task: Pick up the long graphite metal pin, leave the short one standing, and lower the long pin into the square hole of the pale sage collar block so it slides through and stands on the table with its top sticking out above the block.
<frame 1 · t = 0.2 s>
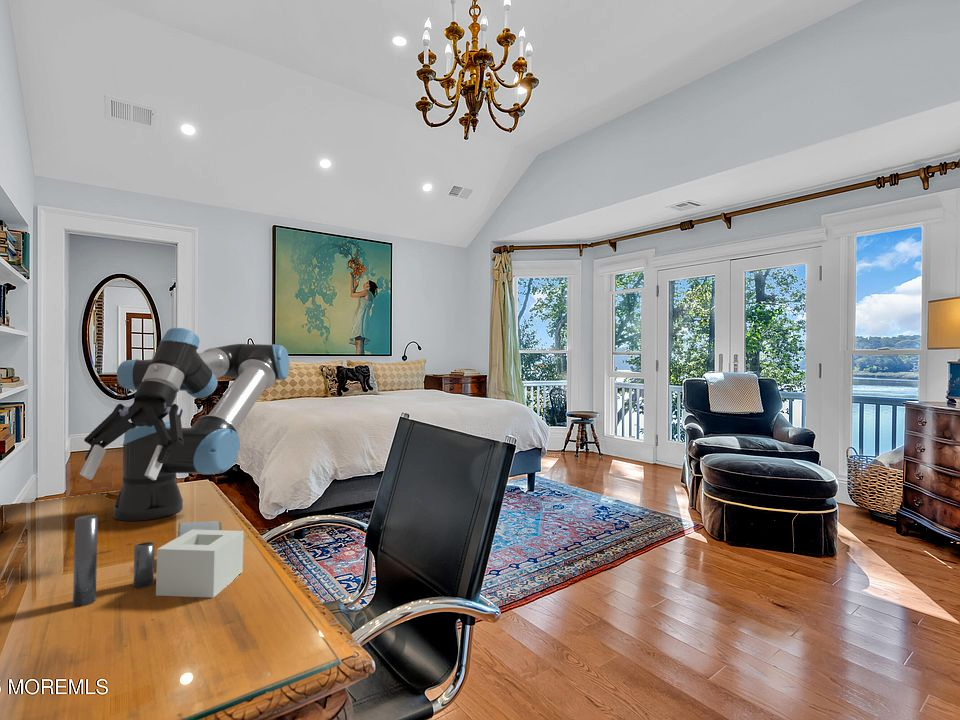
hand: (117, 477, 101), 16 cm above the table, tool tilted 35°, fingers open, 13 cm apart
ceramic mug: (197, 557, 103), on the table
long pin: (84, 602, 83), on the table
hole block: (201, 583, 90), on the table
short pin: (143, 584, 89), on the table
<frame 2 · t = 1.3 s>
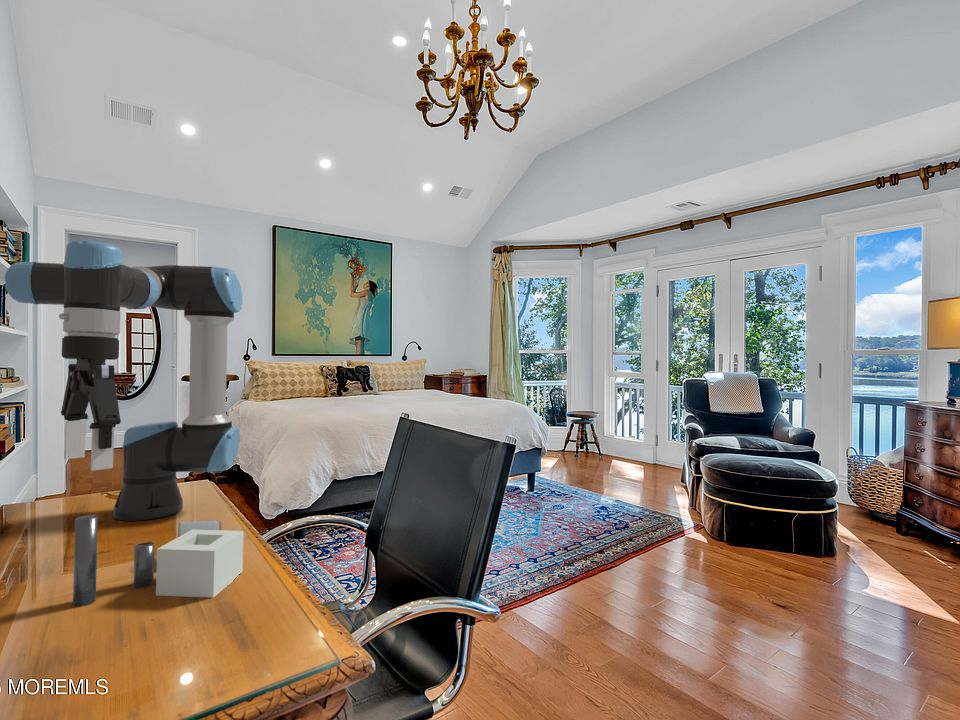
hand: (87, 463, 83), 23 cm above the table, tool pointing down, fingers open, 13 cm apart
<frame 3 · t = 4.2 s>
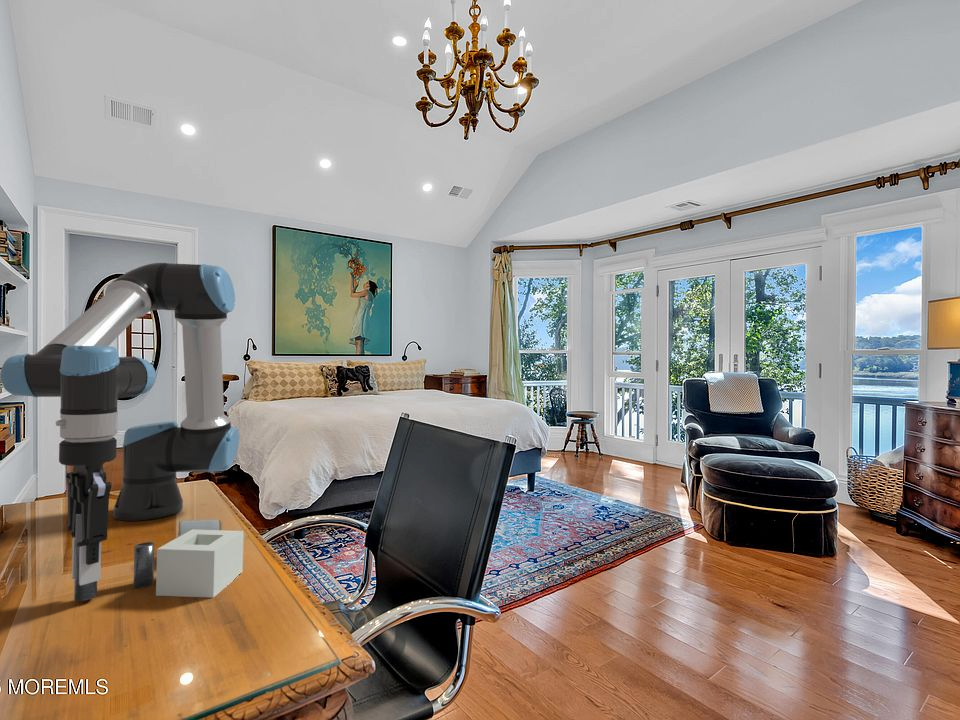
hand: (86, 578, 83), 4 cm above the table, tool pointing down, fingers closed on long pin, 3 cm apart
long pin: (85, 596, 83), point 1 cm above the table, touching gripper
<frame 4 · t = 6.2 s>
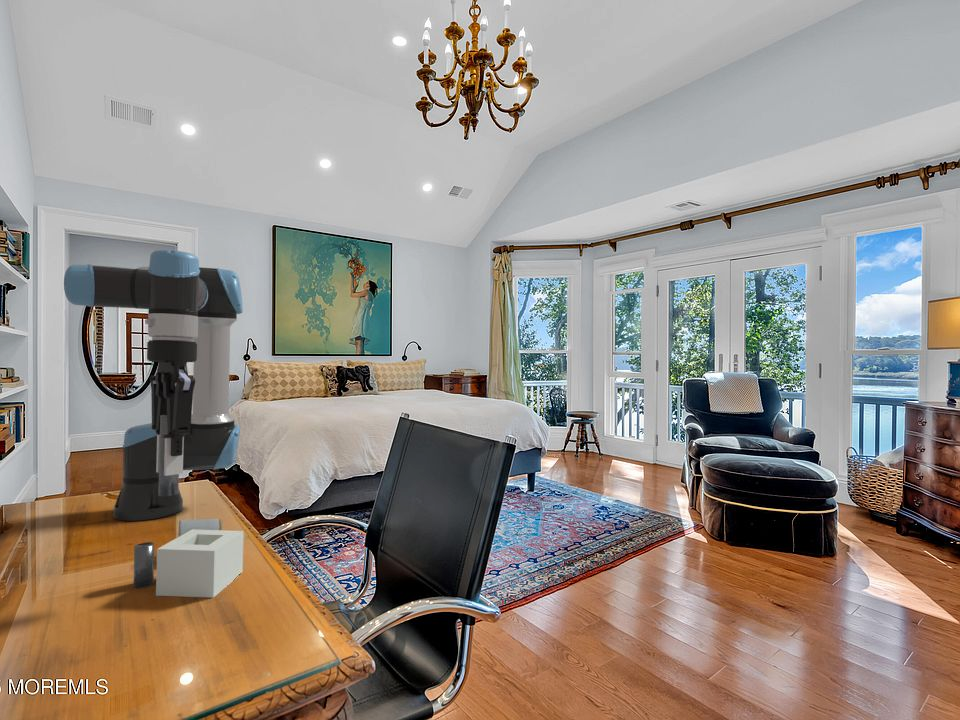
hand: (169, 472, 88), 21 cm above the table, tool pointing down, fingers closed on long pin, 3 cm apart
long pin: (168, 494, 88), point 17 cm above the table, touching gripper
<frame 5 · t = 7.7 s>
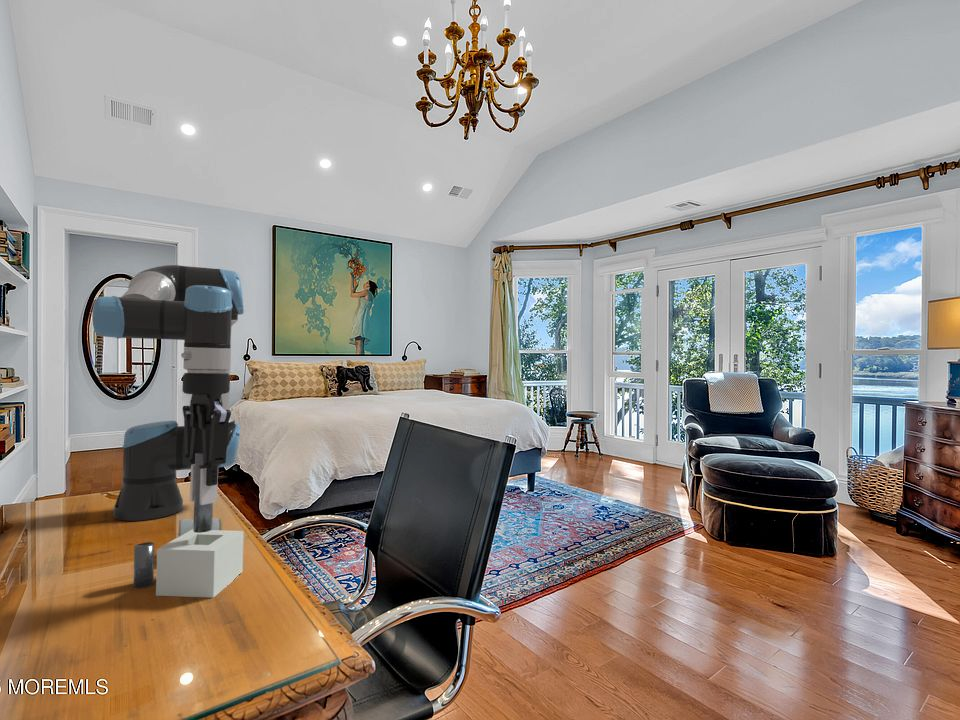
hand: (203, 501, 90), 15 cm above the table, tool pointing down, fingers closed on long pin, 3 cm apart
long pin: (202, 529, 90), point 10 cm above the table, touching gripper
when the fingers open (9 cm above the table, at t = 8.8 s): long pin drops 4 cm, resting in hole block.
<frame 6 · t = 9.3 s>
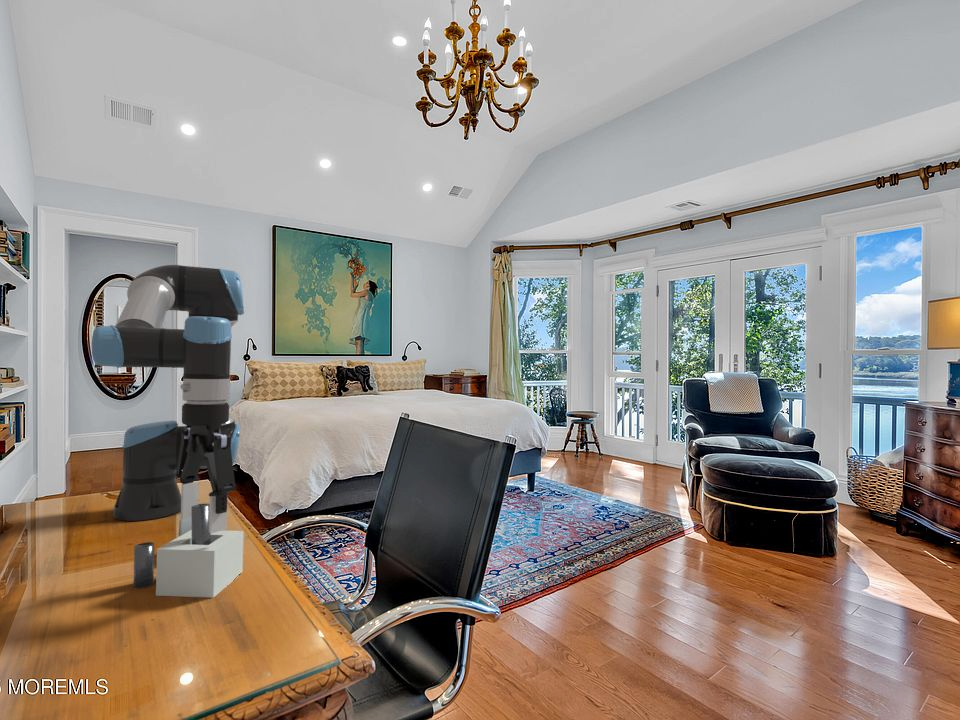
hand: (203, 524, 90), 11 cm above the table, tool pointing down, fingers open, 10 cm apart
long pin: (201, 583, 90), resting in hole block
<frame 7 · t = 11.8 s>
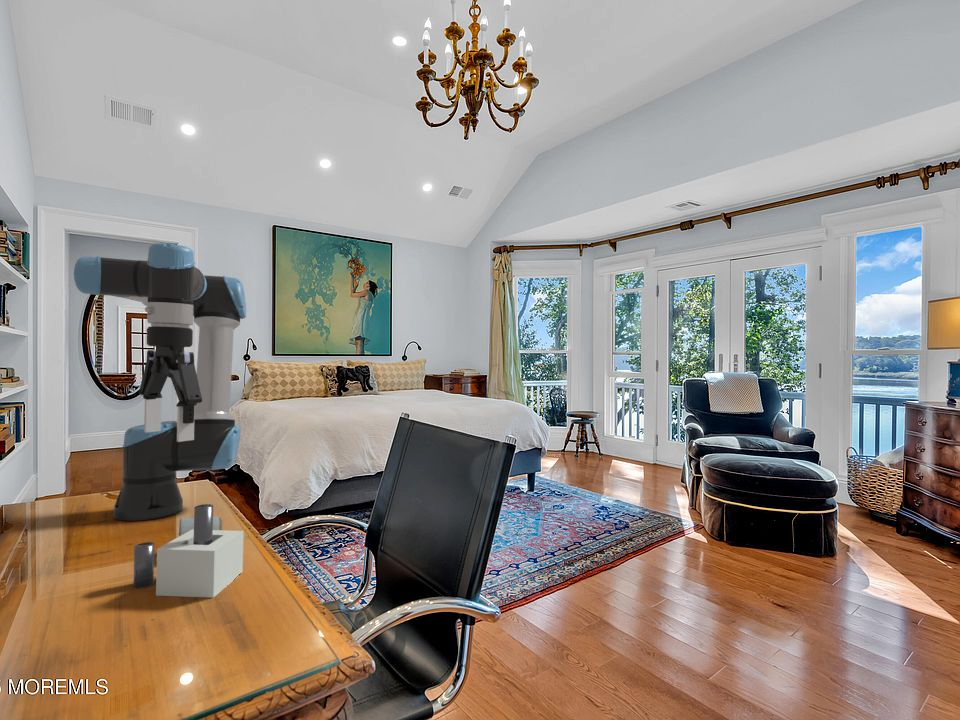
hand: (168, 436, 96), 26 cm above the table, tool pointing down, fingers open, 13 cm apart
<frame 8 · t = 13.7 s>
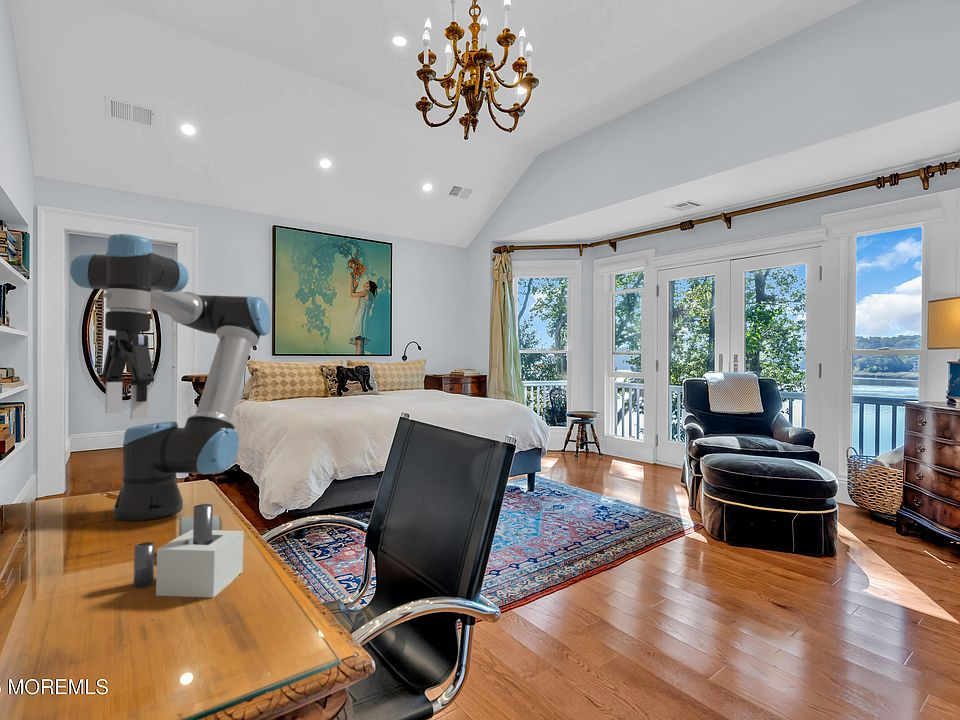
hand: (125, 415, 102), 29 cm above the table, tool pointing down, fingers open, 13 cm apart
at the end: long pin 0.1 cm off-centre on the hole block, point 0.0 cm above the hole block's base; long pin tilted 1°; short pin moved 0.0 cm from its start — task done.
